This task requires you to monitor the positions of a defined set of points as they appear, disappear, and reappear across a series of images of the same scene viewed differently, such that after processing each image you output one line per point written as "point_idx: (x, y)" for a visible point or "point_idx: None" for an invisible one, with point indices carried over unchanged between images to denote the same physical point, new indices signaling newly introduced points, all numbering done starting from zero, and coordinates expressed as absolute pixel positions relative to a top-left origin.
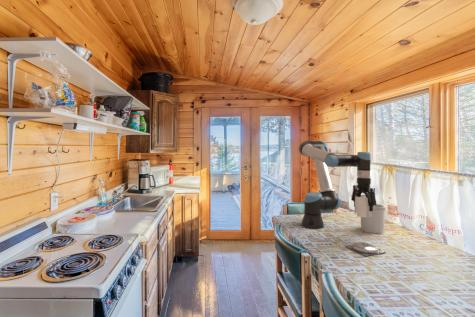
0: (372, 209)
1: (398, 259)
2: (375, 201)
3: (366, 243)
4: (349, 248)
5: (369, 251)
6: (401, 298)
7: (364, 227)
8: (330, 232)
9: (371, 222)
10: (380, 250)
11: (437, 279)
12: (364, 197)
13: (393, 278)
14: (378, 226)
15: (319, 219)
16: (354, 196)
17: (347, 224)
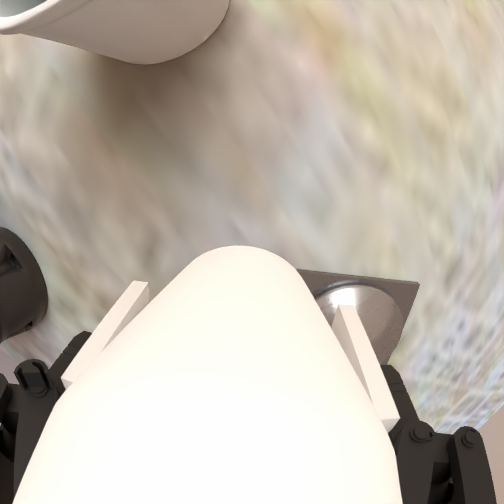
0: (399, 389)
1: (461, 293)
2: (483, 481)
3: (330, 298)
4: None
5: (383, 359)
6: (469, 422)
7: (136, 60)
8: (95, 282)
9: (171, 29)
10: (400, 292)
11: None
12: (58, 451)
13: (459, 395)
14: (217, 1)
15: (11, 301)
16: (5, 468)
17: (30, 76)
